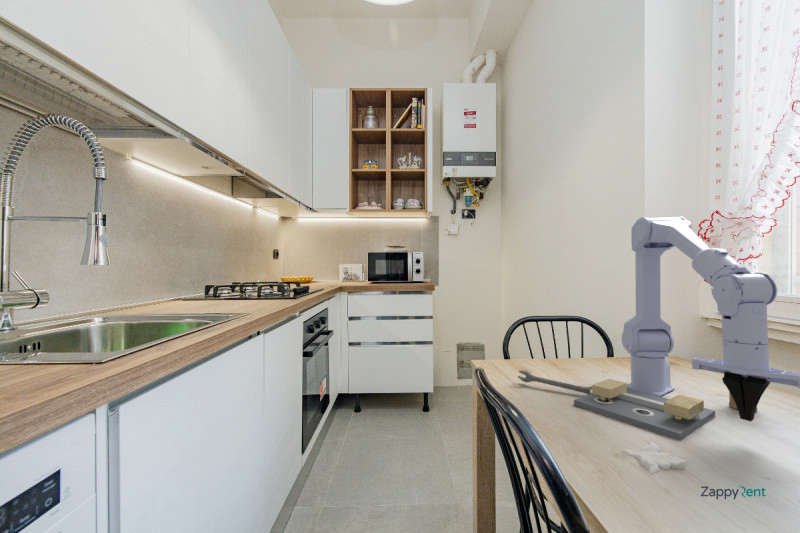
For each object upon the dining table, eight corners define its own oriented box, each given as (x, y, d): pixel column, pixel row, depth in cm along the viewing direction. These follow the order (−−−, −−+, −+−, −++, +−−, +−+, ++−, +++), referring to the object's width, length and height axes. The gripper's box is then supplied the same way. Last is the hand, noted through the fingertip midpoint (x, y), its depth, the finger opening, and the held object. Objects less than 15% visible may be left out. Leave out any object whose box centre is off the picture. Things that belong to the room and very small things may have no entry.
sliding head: (679, 409, 72) (679, 394, 72) (704, 415, 69) (703, 400, 69) (664, 418, 68) (663, 402, 68) (689, 425, 64) (689, 408, 65)
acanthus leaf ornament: (653, 449, 60) (652, 439, 60) (692, 472, 54) (692, 460, 54) (616, 454, 59) (615, 443, 59) (652, 477, 52) (652, 465, 52)
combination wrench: (601, 385, 82) (517, 367, 94) (600, 389, 81) (516, 370, 94) (601, 396, 84) (519, 377, 96) (601, 400, 83) (517, 380, 95)
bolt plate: (613, 389, 89) (613, 372, 89) (715, 416, 72) (714, 395, 72) (573, 405, 79) (573, 385, 79) (680, 440, 62) (679, 416, 62)
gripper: (684, 337, 65) (687, 410, 65) (802, 352, 53) (805, 441, 52) (698, 333, 69) (701, 402, 68) (811, 346, 56) (814, 429, 56)
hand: (747, 418), depth 61 cm, fingers closed
